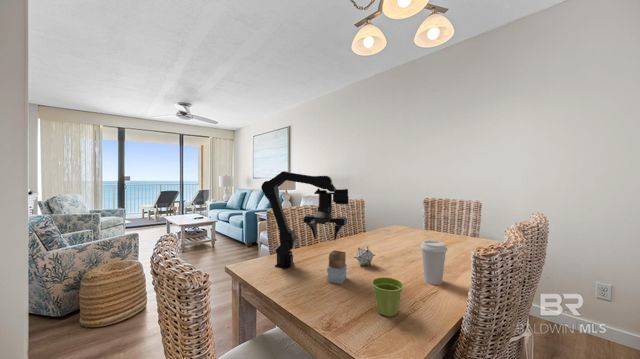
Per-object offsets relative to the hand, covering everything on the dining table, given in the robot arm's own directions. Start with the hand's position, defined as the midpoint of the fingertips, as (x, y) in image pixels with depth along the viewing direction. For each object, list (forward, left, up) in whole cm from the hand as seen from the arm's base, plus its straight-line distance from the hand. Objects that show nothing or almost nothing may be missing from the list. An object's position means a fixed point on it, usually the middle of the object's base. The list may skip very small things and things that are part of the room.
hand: (325, 239), depth 112 cm
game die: (+16, +9, -13) cm, 22 cm away
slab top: (+8, -11, -9) cm, 16 cm away
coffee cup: (+44, +1, -13) cm, 46 cm away
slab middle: (+9, -11, -11) cm, 17 cm away
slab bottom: (+8, -10, -13) cm, 19 cm away
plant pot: (+29, -27, -13) cm, 42 cm away
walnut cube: (+8, -10, -7) cm, 15 cm away
